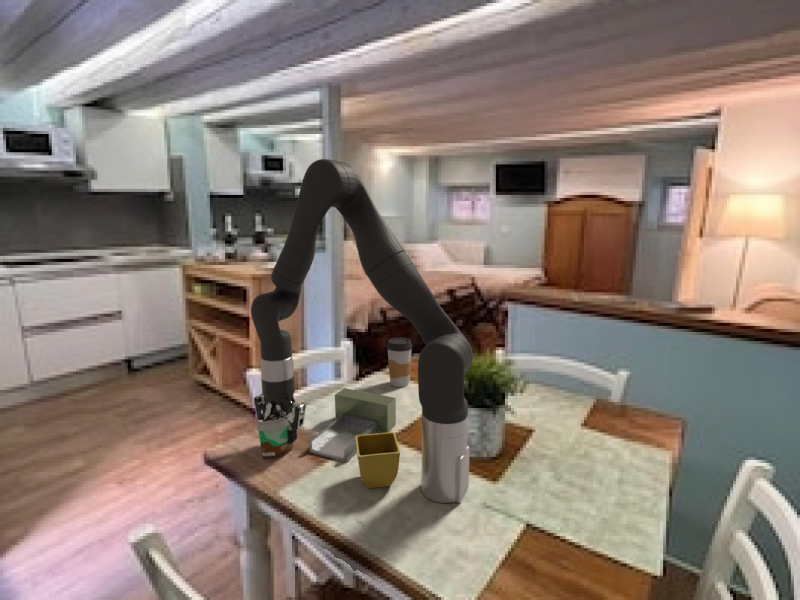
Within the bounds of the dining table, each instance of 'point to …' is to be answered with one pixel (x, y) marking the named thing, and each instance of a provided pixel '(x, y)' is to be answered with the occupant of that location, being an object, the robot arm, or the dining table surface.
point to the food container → (274, 436)
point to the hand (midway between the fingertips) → (281, 439)
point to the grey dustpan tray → (354, 423)
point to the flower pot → (378, 458)
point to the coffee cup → (399, 361)
